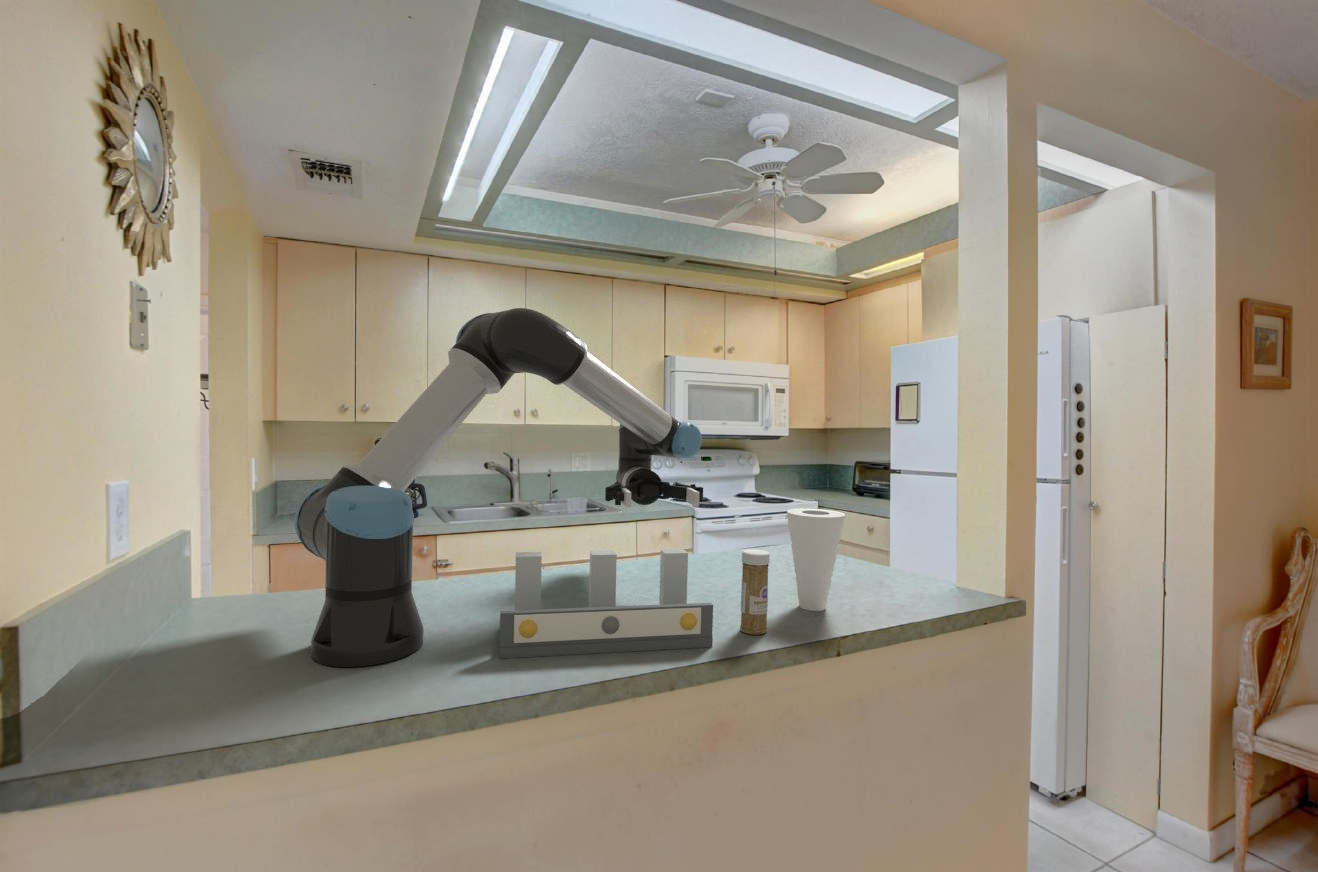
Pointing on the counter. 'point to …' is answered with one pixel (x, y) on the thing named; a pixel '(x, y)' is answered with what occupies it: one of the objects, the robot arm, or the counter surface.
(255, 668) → the counter surface
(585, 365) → the robot arm
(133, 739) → the counter surface
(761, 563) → the sprinkles bottle
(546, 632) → the key console
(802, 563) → the cup
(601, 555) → the key mid
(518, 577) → the key near
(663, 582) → the key far
